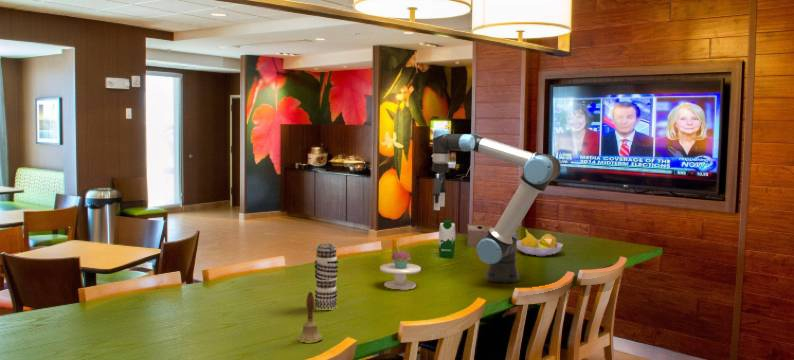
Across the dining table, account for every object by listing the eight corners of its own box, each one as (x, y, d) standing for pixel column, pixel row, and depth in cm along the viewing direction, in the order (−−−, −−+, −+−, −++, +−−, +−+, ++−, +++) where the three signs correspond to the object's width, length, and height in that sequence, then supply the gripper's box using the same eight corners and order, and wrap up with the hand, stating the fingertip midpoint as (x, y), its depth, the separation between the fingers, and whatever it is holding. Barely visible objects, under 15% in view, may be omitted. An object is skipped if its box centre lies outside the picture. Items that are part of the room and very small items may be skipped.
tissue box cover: (467, 239, 413) (467, 223, 412) (490, 240, 412) (490, 224, 411) (467, 247, 388) (468, 230, 387) (492, 248, 386) (493, 231, 385)
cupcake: (393, 269, 287) (394, 242, 286) (388, 265, 295) (389, 239, 294) (412, 269, 289) (413, 242, 288) (407, 264, 298) (408, 238, 296)
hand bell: (292, 340, 220) (292, 292, 218) (310, 333, 226) (310, 288, 225) (310, 345, 214) (310, 297, 213) (327, 339, 221) (328, 292, 220)
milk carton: (438, 258, 355) (439, 221, 353) (438, 254, 364) (439, 218, 362) (454, 258, 354) (455, 221, 352) (454, 255, 363) (455, 219, 361)
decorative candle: (338, 305, 262) (339, 242, 259) (337, 311, 252) (337, 247, 250) (315, 304, 261) (315, 242, 259) (312, 311, 252) (313, 246, 250)
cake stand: (423, 283, 300) (424, 264, 299) (416, 292, 282) (416, 273, 282) (385, 280, 304) (385, 261, 303) (375, 289, 286) (375, 270, 286)
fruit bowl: (567, 259, 359) (568, 238, 358) (517, 258, 360) (518, 237, 359) (556, 249, 387) (557, 230, 386) (510, 248, 388) (510, 229, 387)
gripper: (436, 160, 320) (435, 204, 322) (427, 164, 295) (426, 211, 297) (452, 161, 318) (451, 205, 320) (444, 164, 294) (443, 212, 296)
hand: (439, 208), depth 309 cm, fingers open, 13 cm apart
